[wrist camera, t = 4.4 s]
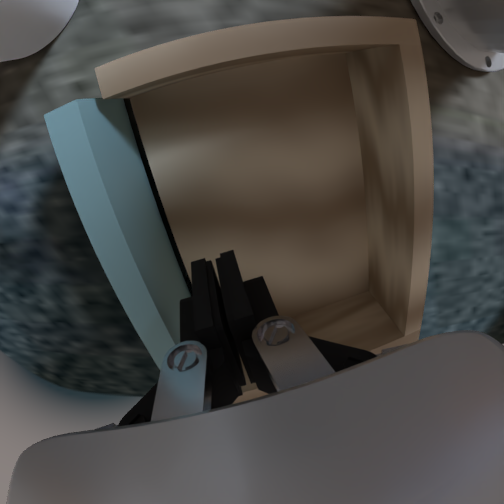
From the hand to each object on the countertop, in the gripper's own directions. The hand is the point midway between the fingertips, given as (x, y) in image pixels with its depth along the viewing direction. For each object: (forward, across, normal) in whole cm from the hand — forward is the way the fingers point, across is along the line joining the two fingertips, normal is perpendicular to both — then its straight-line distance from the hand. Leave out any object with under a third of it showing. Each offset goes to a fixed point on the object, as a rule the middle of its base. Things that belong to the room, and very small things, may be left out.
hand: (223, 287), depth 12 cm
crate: (+7, -4, 0) cm, 8 cm away
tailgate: (+6, +4, 0) cm, 7 cm away
